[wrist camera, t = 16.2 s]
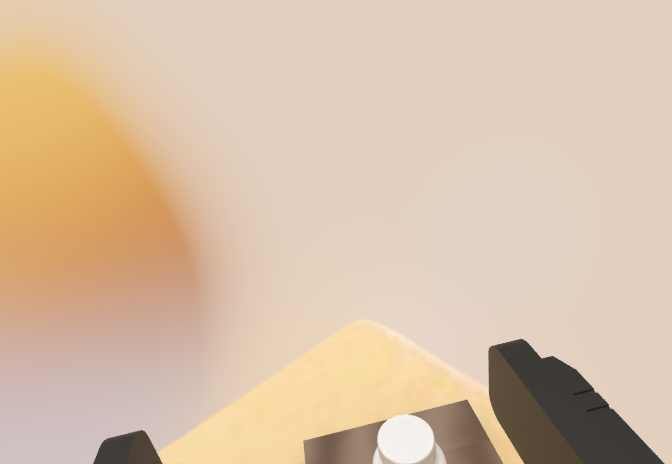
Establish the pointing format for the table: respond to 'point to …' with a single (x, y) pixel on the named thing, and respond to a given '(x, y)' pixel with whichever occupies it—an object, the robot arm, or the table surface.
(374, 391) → the table surface
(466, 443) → the socket plate
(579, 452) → the robot arm
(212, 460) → the table surface
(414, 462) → the supplement bottle
